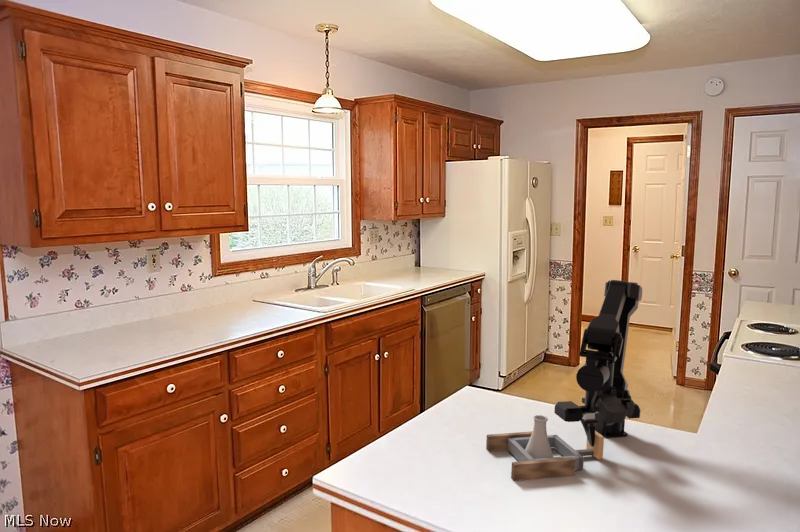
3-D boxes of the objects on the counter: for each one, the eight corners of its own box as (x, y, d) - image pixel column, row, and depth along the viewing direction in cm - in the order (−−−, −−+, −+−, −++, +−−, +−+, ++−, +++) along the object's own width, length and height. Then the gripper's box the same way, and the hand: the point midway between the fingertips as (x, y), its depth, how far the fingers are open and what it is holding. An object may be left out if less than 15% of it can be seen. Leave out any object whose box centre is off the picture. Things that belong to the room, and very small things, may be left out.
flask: (519, 463, 129) (521, 420, 128) (525, 450, 136) (527, 409, 135) (552, 469, 126) (554, 425, 125) (556, 456, 133) (559, 414, 132)
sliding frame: (582, 443, 140) (583, 422, 139) (611, 466, 128) (613, 443, 127) (507, 448, 136) (508, 427, 135) (530, 473, 124) (531, 450, 123)
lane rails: (540, 444, 139) (541, 430, 139) (574, 475, 124) (575, 459, 124) (486, 448, 136) (486, 434, 136) (513, 480, 121) (514, 464, 121)
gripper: (580, 393, 122) (575, 464, 124) (658, 389, 126) (652, 458, 128) (555, 377, 133) (551, 442, 134) (628, 374, 137) (623, 437, 138)
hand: (594, 445), depth 133 cm, fingers closed, pressing on sliding frame
